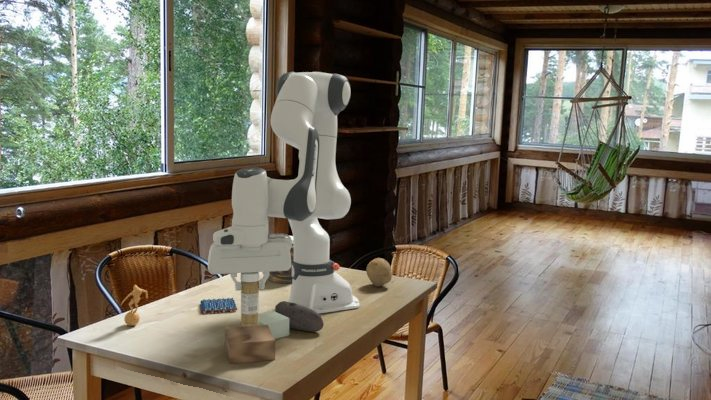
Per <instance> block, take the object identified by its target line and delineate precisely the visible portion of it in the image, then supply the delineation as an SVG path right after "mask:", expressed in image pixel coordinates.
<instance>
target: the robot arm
mask: <svg viewBox="0 0 711 400" xmlns="http://www.w3.org/2000/svg"><path fill="white" fill-rule="evenodd" d="M275 85H276V87H275V96H276V100H275V102H274V105H273V108H272V111H271V114H270V115H271V116H270V127H271V129H272V131H273V133H274V135H275V136H276V137H278V138H279V139H280V140H281V141H282V142H284V143H285V144H287V145H289V146H290V147H291V146H292V147H293V148H295V149H297V150H298V160H299V161H298V162H299V164H298V173H297V174H298V175H297V177H295V178H294V179H276V178H271V177H269V176H267V171H266V169H264V168H262V167H257V166H253V167H252V166H250V167H243V168H240V169H238V170H237V171H236V172H235V173H234V177H233V181H232V187H231V188H232V190H231V207H232V211H233V214H232V219H231V226H228V227H226V228H223V229H220V230H217V231H215V232H214V233H213V235H212V240H213V243H212V244H211V245H210V247H209V251H208V257H207V271H208V272H209V273H210V275H227V274H228V275H230V277H231V279H232V281H233V282H234V290H235V291H237V292H238V291H241V290H242V283H241V281H238V280H237V278H238V274H241V273H251V272H259V273H262V275H263V276H262V277H261V280H259V282H258V285H259V290H265V289H266V288H265V287H266V286H265V285H266V282H267V280H269V279H268V277H269V272H270V271H287V270H289V269H290V267H291V255H290V249H291V247H292V239H291V237H290V236H291V235H288V234H287V233H269V218H268V217H271V218H279V219H280V218H281V219H282V218H283V219H287V220H288V221H287V222H288V223H289V226H290V229H291V232H292V236H293V243H294V259H293V260H292V278H293V280H292V283H291V289H290V294H289V298H288V301H287V302H291V303H296V304H298V305H302V306H305V307H307V308H310V309H312V310H313V311H315V312H317V313H318V314H319V315H321V314H326V313H334V312H341V311H346V310H352V309H353V310H354V309H358V308H359V307H360V303H361V302H360V300H359V299H358V297H356V296H355V295H354V294H353V290H352V289H353V288H352V285H351V284H350V283H349V281H347V280H346V279H345V278H344V277H343V276H341V275H340V274H338V273H337V272H336V271H339V270H340V268H341V267H340V265H339V263H337V262H334V261H333V260H331V259H330V247H331V246H330V243H331V242H330V241H331V239H330V235H329V233H328V232H327V231H326V230H325V229H324V228H323V227H322V225H321V224H320V222H319V220H318V219H323V220H337V219H342V218H344V217H345V216H346V215H347V214H348V213H349V211H350V208H351V204H352V198H351V194H350V192H349V190H348V189H347V188H346V187H345V186H344V184H343V183H342V181H341V179H340V177H339V174H338V171H337V165H336V153H337V139H338V115H339V114H340V112H342V111H344V110H345V109H346V107H347V106H348V105H349V102H350V99H351V95H352V94H351V83H350V81H349V80H348V78H347V77H346V76H344V75H342V74H338V73H327V72H322V71H312V72H311V71H310V72H309V71H305V72H304V71H302V72H295V71H290V72H285V73H283V74H281V76H279V78H278V79H277V81H276V84H275ZM286 237H288V238H286Z"/></svg>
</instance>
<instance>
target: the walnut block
mask: <svg viewBox="0 0 711 400" xmlns="http://www.w3.org/2000/svg"><path fill="white" fill-rule="evenodd" d="M224 348H225V353H226V355H227V359H228V363H229V364H230V365H231V364H240V363H241V364H242V363H252V362H253V363H254V362H261V361H271V360H272V361H273V360H274V361H275V360H276V339H274V337H273V335H272V333H271V331H270V329H269V327H268V325H259V326H254V327H245V326H237V327H224Z"/></svg>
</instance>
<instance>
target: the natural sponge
mask: <svg viewBox="0 0 711 400" xmlns="http://www.w3.org/2000/svg"><path fill="white" fill-rule="evenodd" d="M365 271H366V275H367V277H368V279H369V281H370V283H372V284H373V286H375V287H380V288H381V287H383V286H384V285H386V284H388V283H390V282H391V280H392V276H393V275H392V274H393V273H392V267H391V265H390V263H389V262H388V261H387V260H386V259H385V258H381V257H377V258H376V257H375V258H374V259H372V260H370V261H369V263H368V264H367V266H366V269H365Z"/></svg>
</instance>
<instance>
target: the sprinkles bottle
mask: <svg viewBox="0 0 711 400" xmlns="http://www.w3.org/2000/svg"><path fill="white" fill-rule="evenodd" d="M259 281H260V272H251V273H240V282H241V283H242V290H240V291H241V292H240V325H241V327H254V326H257V325H258V324H259V321H258V314H259V309H260V305H259V303H260V302H259V301H260V300H259V298H260V297H259V292H260V291H259V290H260V289H259V285H258V282H259Z"/></svg>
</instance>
